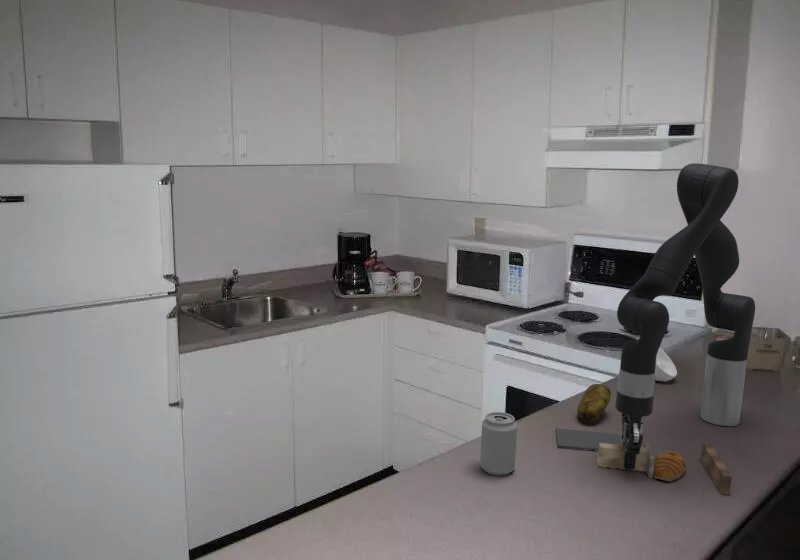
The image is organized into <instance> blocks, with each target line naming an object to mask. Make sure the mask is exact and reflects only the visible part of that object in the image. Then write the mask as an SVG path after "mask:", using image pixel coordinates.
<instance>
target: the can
mask: <svg viewBox="0 0 800 560" xmlns="http://www.w3.org/2000/svg"><path fill="white" fill-rule="evenodd" d="M515 420H516V419H515V417H514V415H512V414H510V413H507V412H503V411H492V412H489V413H487V414H486V415H485V416H484V419H483V420H482V422H481V433H480V436H481V437H480V451H479V452H480V455H479V457H480V458H479V466H480V467H481V469H483V470H484V472H486V473H487V474H490V475H492V476H507V475H509V474H510V473H511V472H513V471H514V470H515V469H516V454H517V437H518V436H517V435H518V423H517V422H516V421H515Z"/></svg>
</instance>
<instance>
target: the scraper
mask: <svg viewBox="0 0 800 560" xmlns="http://www.w3.org/2000/svg"><path fill="white" fill-rule="evenodd" d="M632 448H633V447H632ZM624 459H625V445H616V444H606V443H599V449H598V451H597V466H600V467H599V468H606V467H610V468H609V469H616V468H620V469H619V470H626V469H625V468H624ZM654 460H655V456H654V454H653V451H652V449H651V447H650V444H649V443H648V442H644V443H643V446H641V448H640V453H639V455H638V454H636V462H635V469H633V470H632V469H628V471H636V470H638V472H645V471H646V472H645V473H646V474H647V476H648V478H650V479H654V476H653V470H654ZM601 466H602V467H601Z"/></svg>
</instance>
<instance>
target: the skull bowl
mask: <svg viewBox="0 0 800 560" xmlns="http://www.w3.org/2000/svg"><path fill="white" fill-rule="evenodd" d="M677 375H678V371H677V367H676V366H675V364H674V362H673V360H672V359H671V358H670V357H669V356H668V354H667V353H666V352H665V351H664V350H663V349H662V348H661V347H659V350H658V352H657V356H656V367H655V382H656V381H657V382H664V383H666V382H668V381H671V380H673V379H675V377H676V376H677Z"/></svg>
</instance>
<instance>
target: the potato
mask: <svg viewBox="0 0 800 560" xmlns="http://www.w3.org/2000/svg"><path fill="white" fill-rule="evenodd" d="M611 393H612V392H611V389H610V388H609V387H608V386H607V385H603V384H601V383H600V384H599V383H594V384H591V385H589V386H588V387H587V388H586V390H585V392H584V393H583V394H582V396H581V398H580V401H579V404H578V407H577V416H578V418H579V419H580V420H581V421H582V422H584V423H586V424H590V423H593V422H596V421H597V420H598V419H599V417H600V416H601V415H602V414H603V413H604V411H605V410H606V409H607V407H608V405H609V403H610V402H611V401H610V399H611V396H612V394H611Z"/></svg>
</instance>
